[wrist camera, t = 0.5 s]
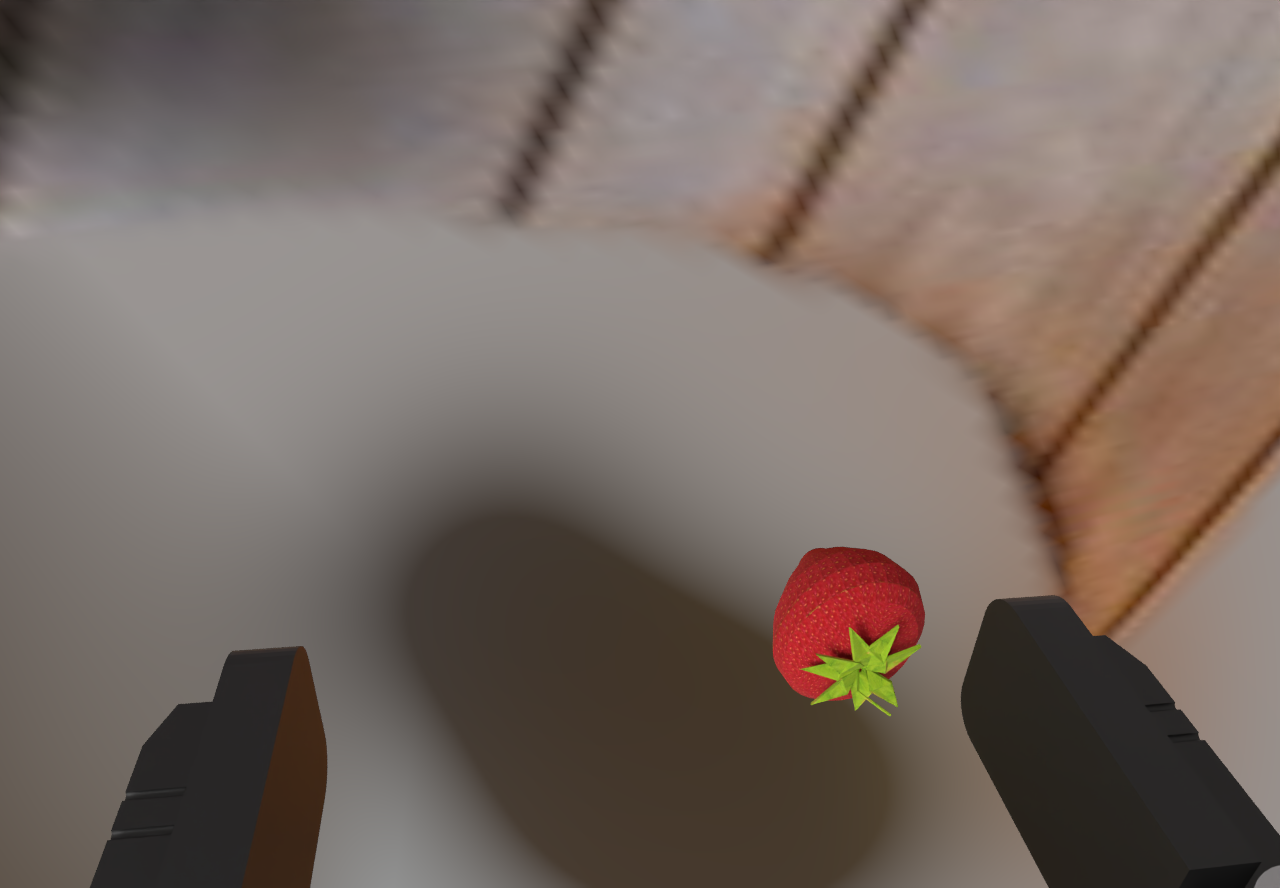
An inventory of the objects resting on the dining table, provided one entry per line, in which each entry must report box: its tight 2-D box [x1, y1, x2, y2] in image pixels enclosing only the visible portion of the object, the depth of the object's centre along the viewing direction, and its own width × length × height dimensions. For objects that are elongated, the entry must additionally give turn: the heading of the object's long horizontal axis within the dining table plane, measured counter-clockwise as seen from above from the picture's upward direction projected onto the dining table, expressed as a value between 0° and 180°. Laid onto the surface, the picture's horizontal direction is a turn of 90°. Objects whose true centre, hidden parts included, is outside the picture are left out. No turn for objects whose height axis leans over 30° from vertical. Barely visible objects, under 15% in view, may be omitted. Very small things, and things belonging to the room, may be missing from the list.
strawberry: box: [773, 547, 925, 716], centre depth 43 cm, size 6×8×10 cm
